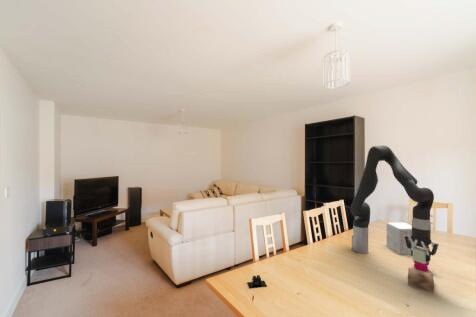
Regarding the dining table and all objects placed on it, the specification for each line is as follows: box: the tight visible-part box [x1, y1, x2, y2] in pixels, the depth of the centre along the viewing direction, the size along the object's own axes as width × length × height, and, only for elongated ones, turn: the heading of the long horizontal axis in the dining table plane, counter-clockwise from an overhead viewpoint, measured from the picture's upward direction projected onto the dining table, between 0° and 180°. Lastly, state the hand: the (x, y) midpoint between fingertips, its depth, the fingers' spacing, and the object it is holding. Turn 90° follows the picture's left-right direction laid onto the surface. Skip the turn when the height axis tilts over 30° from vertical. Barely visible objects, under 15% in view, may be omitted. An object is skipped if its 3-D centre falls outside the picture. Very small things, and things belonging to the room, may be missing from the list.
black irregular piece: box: [246, 274, 268, 290], centre depth 116 cm, size 12×7×5 cm, turn 100°
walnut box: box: [407, 267, 435, 293], centre depth 115 cm, size 10×10×5 cm
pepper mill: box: [412, 246, 430, 272], centre depth 129 cm, size 7×7×20 cm
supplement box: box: [386, 222, 414, 256], centre depth 153 cm, size 13×13×18 cm
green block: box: [412, 247, 427, 264], centre depth 115 cm, size 5×5×6 cm
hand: (420, 259), depth 115 cm, fingers closed on green block, 5 cm apart
